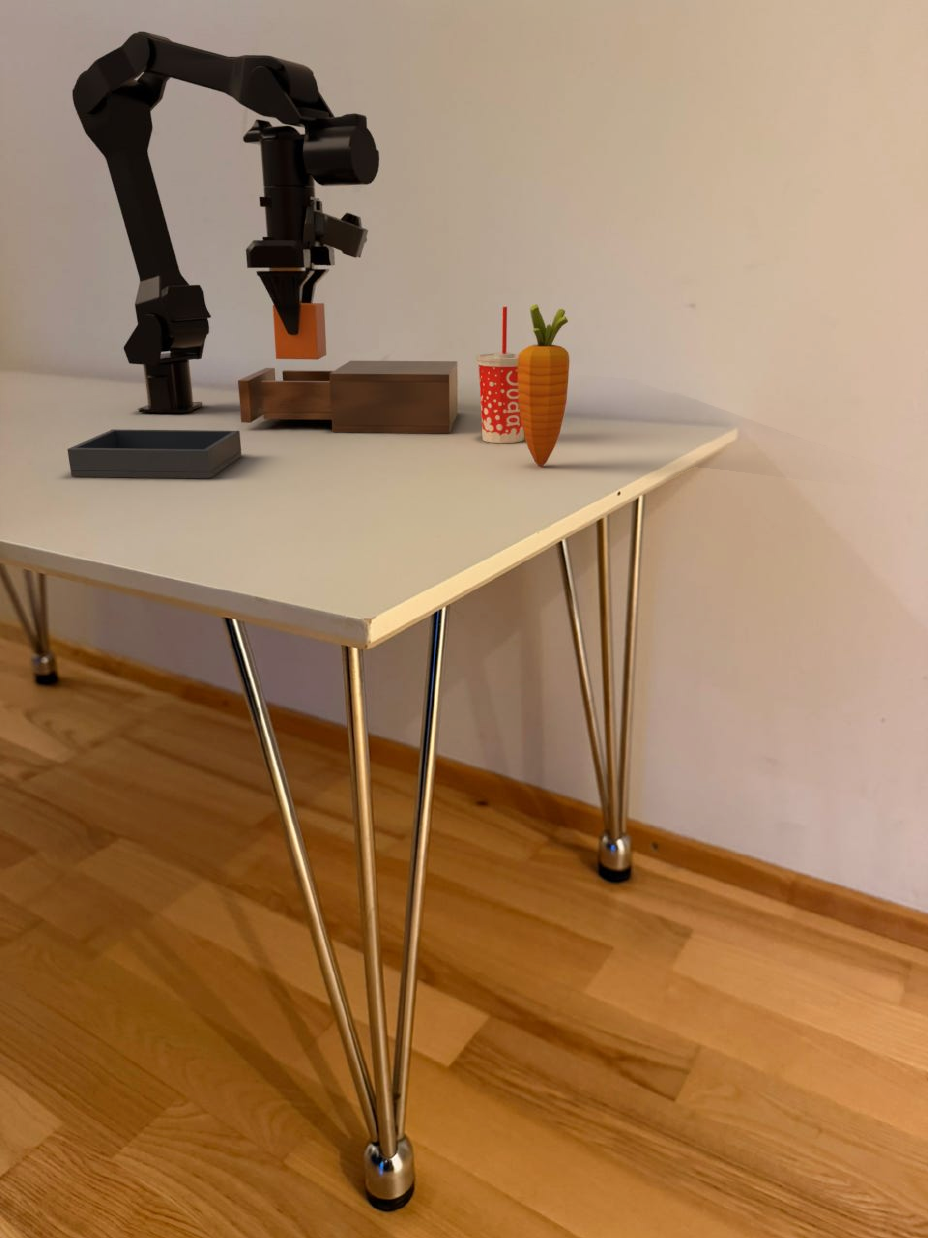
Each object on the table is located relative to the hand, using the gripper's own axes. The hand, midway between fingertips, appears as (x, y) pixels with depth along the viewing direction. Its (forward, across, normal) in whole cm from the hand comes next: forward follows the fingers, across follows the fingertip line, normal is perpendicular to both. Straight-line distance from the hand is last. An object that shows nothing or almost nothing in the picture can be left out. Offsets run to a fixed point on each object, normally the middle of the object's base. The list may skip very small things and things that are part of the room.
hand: (298, 332), depth 112 cm
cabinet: (+10, 0, -12) cm, 16 cm away
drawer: (+10, 0, 0) cm, 10 cm away
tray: (+10, -26, +9) cm, 29 cm away
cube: (+3, 0, 0) cm, 3 cm away
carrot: (+11, -24, -28) cm, 39 cm away
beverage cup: (+11, -10, -24) cm, 28 cm away
